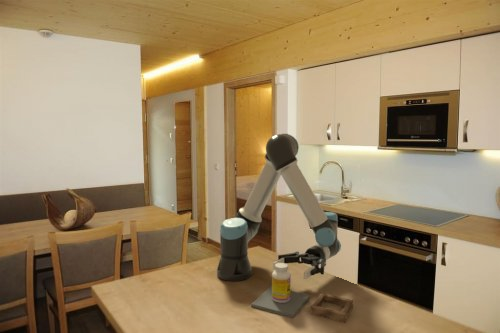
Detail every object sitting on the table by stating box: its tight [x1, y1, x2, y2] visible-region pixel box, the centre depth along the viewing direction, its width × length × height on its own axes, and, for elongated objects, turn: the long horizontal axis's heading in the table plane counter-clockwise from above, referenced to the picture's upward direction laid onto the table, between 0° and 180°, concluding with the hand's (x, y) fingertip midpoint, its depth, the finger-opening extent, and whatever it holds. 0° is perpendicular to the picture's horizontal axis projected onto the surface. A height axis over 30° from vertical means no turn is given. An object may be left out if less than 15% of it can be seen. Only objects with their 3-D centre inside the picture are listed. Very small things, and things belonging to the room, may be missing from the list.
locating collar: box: [310, 292, 354, 324], centre depth 122 cm, size 12×12×2 cm
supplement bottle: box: [271, 263, 292, 303], centre depth 127 cm, size 7×7×13 cm
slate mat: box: [250, 285, 311, 319], centre depth 128 cm, size 16×16×1 cm
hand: (288, 270), depth 129 cm, fingers open, 13 cm apart
